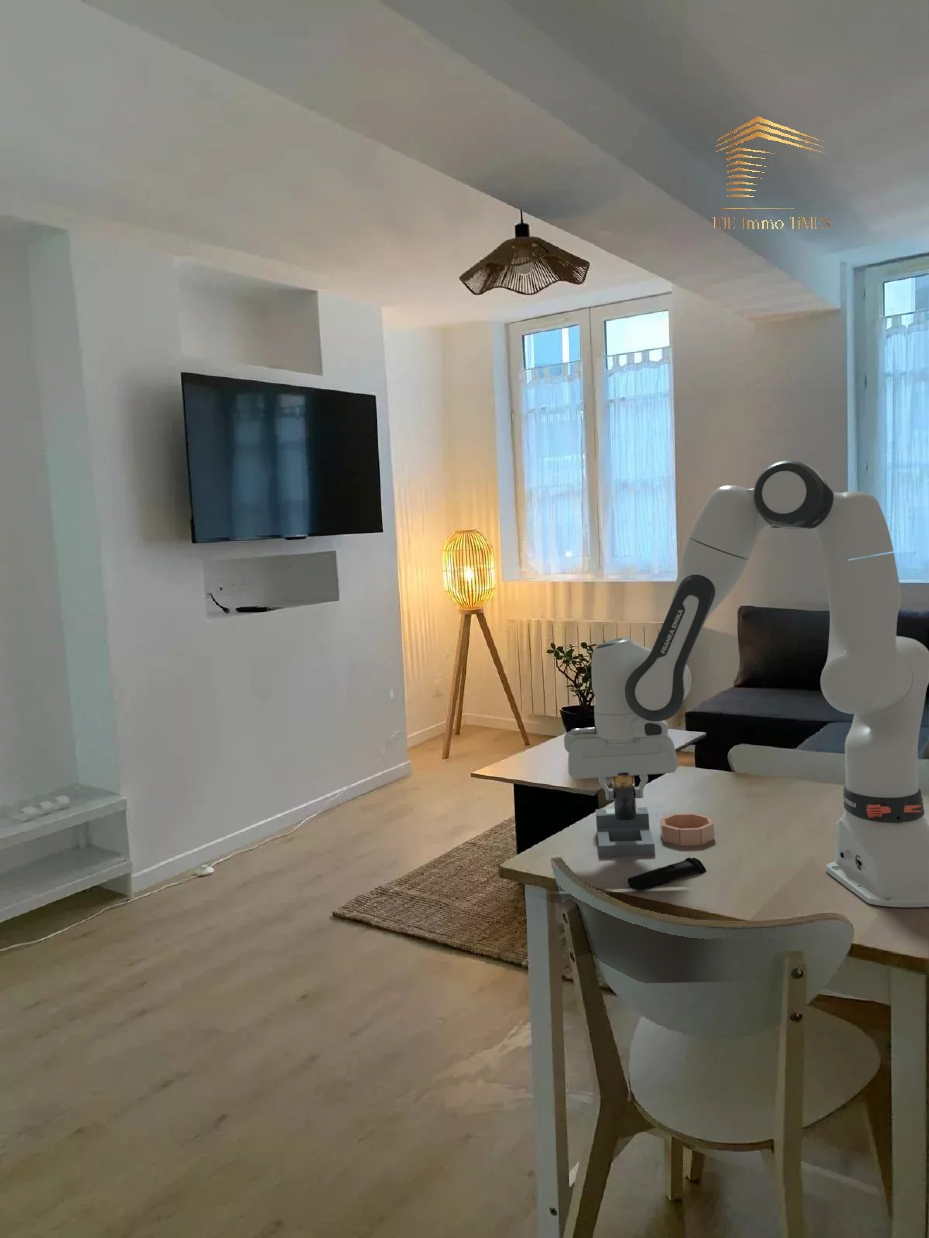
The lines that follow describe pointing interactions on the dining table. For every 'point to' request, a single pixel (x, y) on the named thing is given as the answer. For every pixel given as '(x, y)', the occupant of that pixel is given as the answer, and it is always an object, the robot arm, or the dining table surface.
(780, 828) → the dining table surface
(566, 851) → the dining table surface
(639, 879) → the electric trimmer
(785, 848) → the dining table surface
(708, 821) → the dish
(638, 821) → the grey charging dock
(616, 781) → the cell
